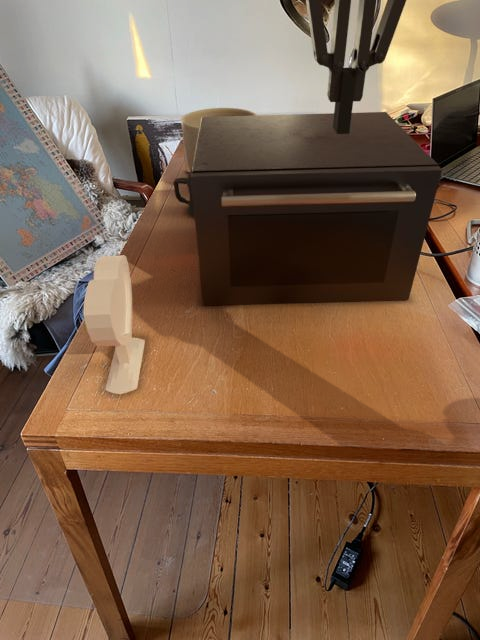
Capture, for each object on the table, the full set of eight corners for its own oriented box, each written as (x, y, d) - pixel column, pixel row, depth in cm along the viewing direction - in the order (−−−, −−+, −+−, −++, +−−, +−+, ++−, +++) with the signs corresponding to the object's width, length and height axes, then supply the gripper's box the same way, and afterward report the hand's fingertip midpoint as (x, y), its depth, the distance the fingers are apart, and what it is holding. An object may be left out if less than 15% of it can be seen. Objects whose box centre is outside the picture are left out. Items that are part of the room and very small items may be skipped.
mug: (223, 203, 125) (221, 163, 118) (219, 218, 118) (217, 176, 111) (180, 203, 126) (176, 162, 119) (173, 217, 119) (168, 175, 112)
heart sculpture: (135, 397, 71) (112, 304, 59) (102, 399, 70) (73, 306, 59) (146, 333, 83) (129, 245, 72) (118, 334, 83) (97, 247, 71)
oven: (405, 295, 90) (438, 164, 74) (203, 300, 90) (191, 171, 74) (367, 221, 115) (386, 111, 99) (209, 225, 115) (201, 116, 99)
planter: (257, 199, 127) (257, 128, 115) (183, 199, 128) (175, 129, 116) (258, 172, 143) (258, 107, 131) (192, 172, 144) (186, 108, 132)
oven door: (414, 312, 86) (451, 178, 70) (201, 317, 86) (189, 185, 70) (406, 295, 90) (438, 165, 74) (203, 300, 90) (191, 172, 74)
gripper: (430, -143, 43) (386, 120, 58) (293, -139, 43) (283, 123, 58) (462, -158, 37) (404, 138, 52) (303, -154, 37) (289, 141, 52)
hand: (340, 130), depth 55 cm, fingers closed
